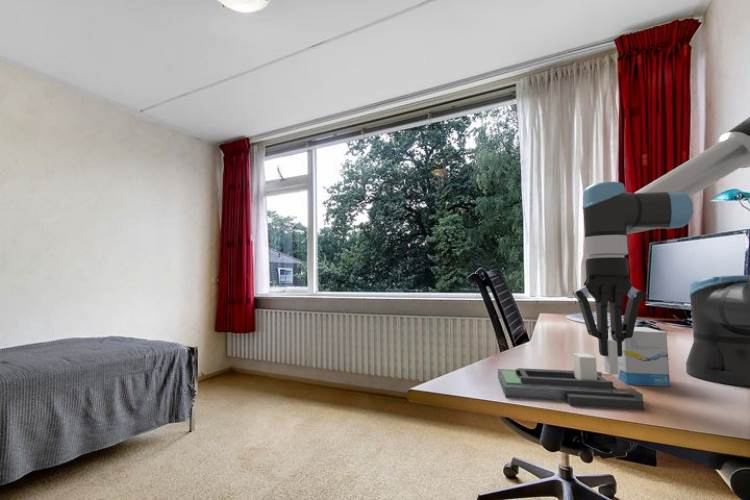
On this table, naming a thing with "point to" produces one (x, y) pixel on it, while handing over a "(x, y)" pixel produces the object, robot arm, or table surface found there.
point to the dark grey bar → (605, 401)
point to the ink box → (644, 358)
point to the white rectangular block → (585, 366)
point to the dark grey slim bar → (552, 370)
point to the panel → (560, 385)
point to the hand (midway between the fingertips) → (611, 372)
